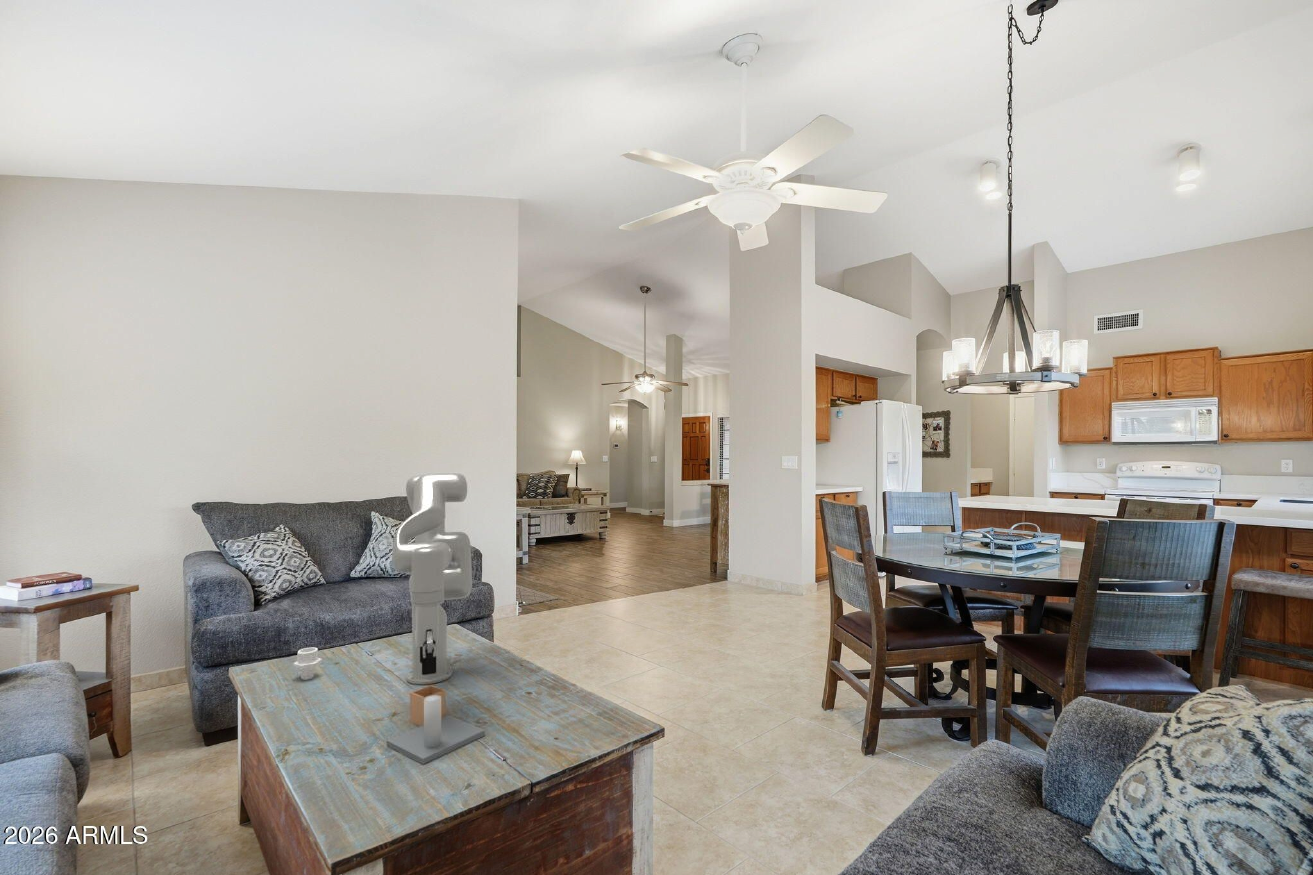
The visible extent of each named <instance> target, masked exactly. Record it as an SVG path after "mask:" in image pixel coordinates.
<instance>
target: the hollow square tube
mask: <svg viewBox="0 0 1313 875" xmlns="http://www.w3.org/2000/svg"><path fill="white" fill-rule="evenodd" d="M433 695H438V696H441V718H442V717H444V716H447V690H446V689H444V688H440V687H438V686H437V685H433V684H429V685H427V686H423V687H421V688H419V689H416V690H413V691H411V692H409V722H410V723H412V724H415V725H417V726H418V727H420V726H423V725H424V699H425V698H426V697H428V696H433Z"/></svg>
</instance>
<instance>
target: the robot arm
mask: <svg viewBox="0 0 1313 875" xmlns="http://www.w3.org/2000/svg"><path fill="white" fill-rule="evenodd" d="M405 493H406V498H407V502H408V505H409V509H410V511H411V513H412V514H411V515H410V516H409V517H407V518H406V519H405V520H403V522H402V523H401V525H399V527H398V528H397V530H396V532H395V534H394V536H393V544H392V552H391V553H392V554H391V559H392V560H391V563H392V568H393V569H394V571H396V573H399V574H411V575H410V576H409V580H408V588H409V596H410V603H411V617H412V620H411V622H412V623H411V625H412V627H411V628H412V630H411V631H412V632H411V633H412V635H411V636H412V639H411V644H412V647H411V649H412V650H411V651H412V652H411V655H412V656H411V657H412V658H411V659H412V664H411V665H412V667H411V668H412V670H411V671H409V672H408V673H407V675H406V681H407V683H409V684H413V685H433V684H435V683H437V684H438V683H440V682H444V681H447V680H448V679H449V678H451V677H452V675H453V669H452V666H453V664H458V663H461V661H462V657H461V656H460V655H457V656H454V657H452V656H451V655H450V656H448V627H447V626H448V623H447V622H448V615H447V612H446V610H445V609H444V608H443V606H442V604H444V602H445V601H447V600H458V599H459V600H460V599H465V598H467V597H469V596H470V594H471V593H472V588H473V572H472V571H473V569H472V548H471V540H470V537H469V535H468V534H467V533H465V532H462V531H448V532H446V530H445V529H446V528H445V526H446V523H445V522H446V520H445V519H446V503H463V502H464V501H465V500H466V499H467V495H468V482H467V479H466V477H465V476H464V474H461V473H427V474H421V475H415V476H412V477H410V478H409V479H408V480H407V481H406V484H405ZM413 538H414V542H411V543H409V541H410V540H412V539H413ZM451 564H452V565H454V566H449V565H451Z"/></svg>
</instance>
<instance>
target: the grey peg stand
mask: <svg viewBox="0 0 1313 875" xmlns="http://www.w3.org/2000/svg"><path fill="white" fill-rule="evenodd" d="M485 730H486V729H484V728H481V727H478V726H477V725H473V724H471V723H469V722H466V721H464V720H461V719H460V718H457V717H456V716H455V717H454V716H452V715H449V714H446V716H444V717H442V718H441V696H438V695H433V696H428V697H426V698H425V699H424V725H423V726H418V727H416V728H413V729H410V730H408V731H405V732H404V733H401V734H399V735H397V736H394V737H391V738H389V739H387V740H386V747H388V748H390V749H392V750H394V751H396V752H398V753H400V754H402V755H404V756H406V757H408V758H410V759H411V760H413V761H415V762H417V763H419V764H421V765H425V764H428V763H429V762H431V761H433V760H435V759H437V758H439V757H442V756H444V755H446V754H448V753H450V752H452V751H454V750H457V749H458V748H461V747H463V746H465V745H467V744H470V743H472V742H474V741H476V740H478V739H480V738H482V737H484V736H485V735H486V731H485Z"/></svg>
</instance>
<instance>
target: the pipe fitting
mask: <svg viewBox="0 0 1313 875" xmlns="http://www.w3.org/2000/svg"><path fill="white" fill-rule="evenodd" d="M318 654H319V648H317V647H314V646H313V647H311V646H310V647H305V648H300V649H299V650H298V651H297V659H296V660H297V661H295V662H293V668H296V669H300V671H301V673H300V677H301V680H304V681H306V680H311V679H313V678H314V677H315V667H317V666H318V665H321V663H322V660H323V659H322V658H320V657H318V656H319V655H318Z"/></svg>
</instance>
